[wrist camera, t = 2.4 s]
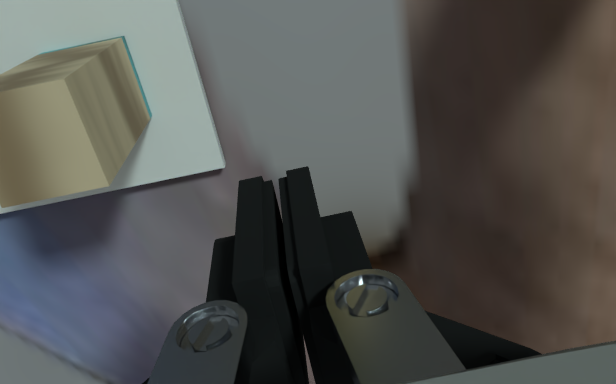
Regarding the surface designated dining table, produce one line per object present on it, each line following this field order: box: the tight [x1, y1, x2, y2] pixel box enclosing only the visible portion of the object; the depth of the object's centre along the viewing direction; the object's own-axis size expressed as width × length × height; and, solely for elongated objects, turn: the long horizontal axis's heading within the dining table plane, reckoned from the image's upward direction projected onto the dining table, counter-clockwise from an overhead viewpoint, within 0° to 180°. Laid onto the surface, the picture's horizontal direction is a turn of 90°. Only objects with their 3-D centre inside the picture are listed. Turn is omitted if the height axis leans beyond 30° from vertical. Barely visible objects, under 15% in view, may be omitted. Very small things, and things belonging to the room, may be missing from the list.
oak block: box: [0, 36, 152, 208], centre depth 26 cm, size 5×5×10 cm
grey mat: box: [0, 0, 225, 214], centre depth 30 cm, size 22×14×1 cm, turn 100°
